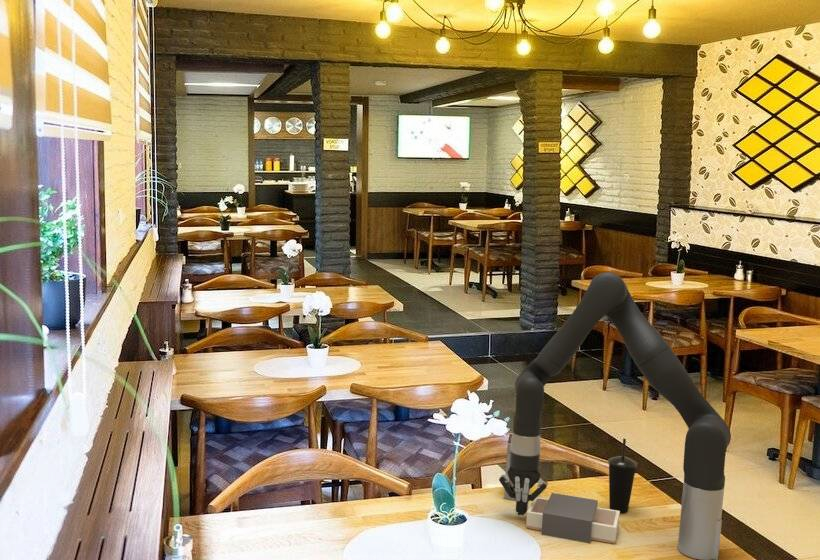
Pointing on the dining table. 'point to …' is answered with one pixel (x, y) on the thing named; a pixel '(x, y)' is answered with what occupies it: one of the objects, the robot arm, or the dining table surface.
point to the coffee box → (508, 469)
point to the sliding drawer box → (602, 522)
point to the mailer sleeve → (569, 517)
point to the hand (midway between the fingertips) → (521, 514)
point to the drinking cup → (621, 481)
